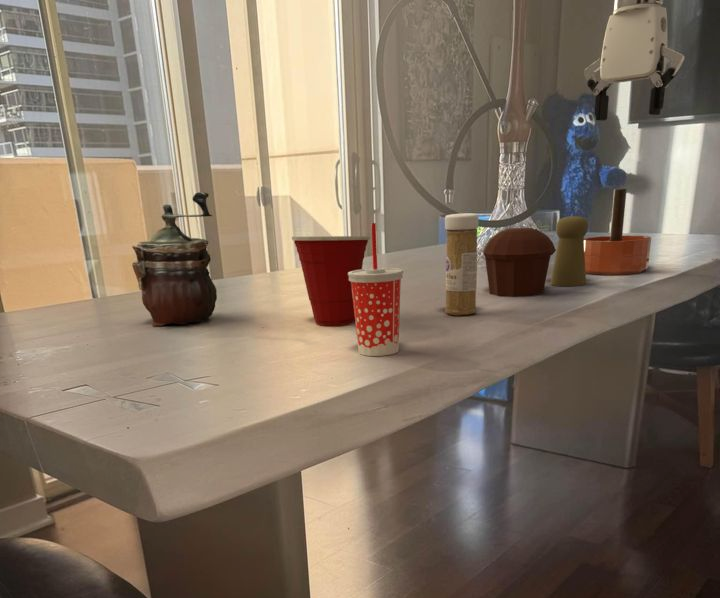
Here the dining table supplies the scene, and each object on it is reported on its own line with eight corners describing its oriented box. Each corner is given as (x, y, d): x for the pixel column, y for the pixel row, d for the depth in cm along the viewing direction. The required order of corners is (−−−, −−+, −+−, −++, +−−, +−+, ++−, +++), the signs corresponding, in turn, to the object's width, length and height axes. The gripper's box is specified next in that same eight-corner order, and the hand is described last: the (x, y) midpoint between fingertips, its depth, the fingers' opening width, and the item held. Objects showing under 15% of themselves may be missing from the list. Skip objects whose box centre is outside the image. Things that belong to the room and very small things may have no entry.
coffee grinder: (197, 333, 96) (177, 193, 89) (126, 326, 104) (103, 197, 97) (257, 316, 106) (243, 189, 99) (188, 312, 114) (171, 193, 106)
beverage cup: (378, 343, 84) (374, 221, 79) (415, 349, 80) (413, 221, 74) (341, 353, 80) (333, 225, 75) (378, 360, 76) (372, 225, 71)
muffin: (475, 297, 112) (476, 232, 108) (486, 287, 122) (487, 227, 118) (551, 297, 108) (555, 230, 105) (556, 287, 118) (559, 224, 114)
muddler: (620, 266, 134) (627, 188, 129) (629, 268, 130) (636, 188, 125) (597, 267, 134) (604, 189, 129) (605, 270, 130) (612, 189, 125)
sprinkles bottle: (439, 313, 101) (438, 214, 96) (465, 309, 103) (466, 212, 97) (456, 317, 97) (456, 215, 92) (483, 313, 99) (485, 213, 93)
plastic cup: (388, 317, 100) (385, 229, 95) (346, 332, 92) (340, 236, 87) (328, 313, 105) (322, 230, 101) (283, 326, 97) (274, 236, 93)
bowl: (632, 266, 138) (635, 234, 136) (658, 273, 127) (662, 238, 125) (571, 269, 138) (574, 237, 136) (592, 276, 127) (594, 242, 125)
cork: (562, 287, 117) (566, 218, 113) (543, 283, 123) (547, 217, 118) (593, 284, 119) (598, 216, 114) (573, 280, 124) (578, 215, 120)
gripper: (699, -6, 112) (685, 113, 119) (599, 15, 124) (591, 122, 130) (681, -13, 107) (668, 111, 114) (578, 10, 119) (571, 121, 125)
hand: (627, 117), depth 122 cm, fingers open, 9 cm apart
